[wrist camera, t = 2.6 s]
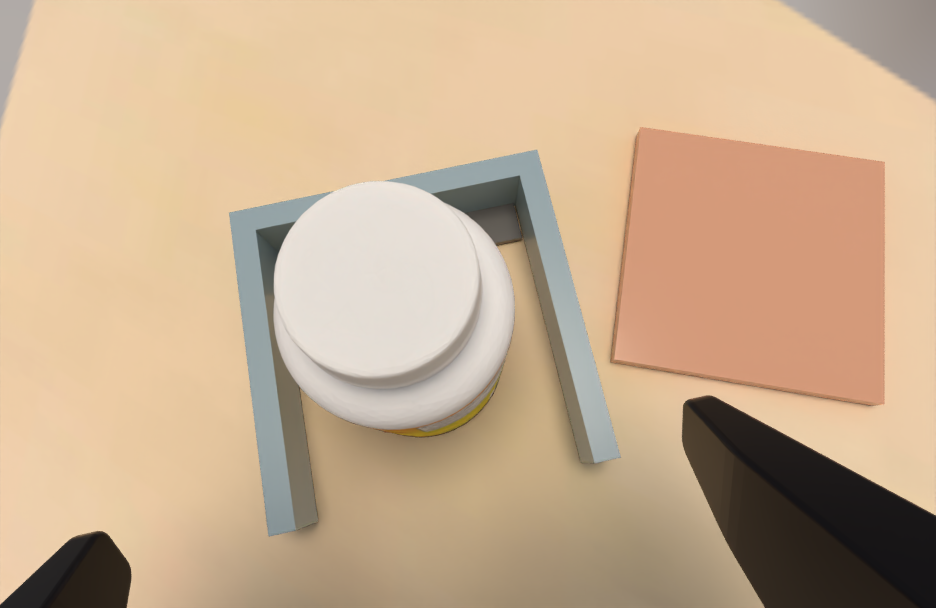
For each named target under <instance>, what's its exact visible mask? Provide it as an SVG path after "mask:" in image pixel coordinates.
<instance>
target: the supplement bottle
mask: <svg viewBox="0 0 936 608" xmlns="http://www.w3.org/2000/svg"><path fill="white" fill-rule="evenodd" d="M274 296H275V299H274V312H273V313H274V328H275V335H276V340H277V344H278V347H279V350H280V353H281V356H282V359H283V361H284V363H285V365H286V367H287V369H288V371H289V372H290V374H291V376H292V377H293V379H294V380H295V381H296V383H297V384H298V385H299V386H300V388H301V389H302V390H303V391H304V392H305V393H306V394H307V395H308V396H309V397H310V398H311V399H312V400H313V401H314V402H316V403H317V404H318V405H320V406H321V407H322V408H324V409H325V410H327V411H328V412H330V413H332V414H334V415H335V416H337V417H339V418H342V419H344V420H346V421H349V422H351V423H354V424H357V425H361V426H364V427H368V428H373V429H377V430H381V431H384V432H391V433H395V434H399V435H404V436H411V437H429V436H436V435H440V434H444V433H447V432H450V431H452V430H455V429H457V428H458V427H460V426H462V425H464V424H466V423H467V422H468V421H470V420H471V419H472V418H474V417H475V416H476V415H477V414H478V413H479V412H480V411H481V410H482V409H483V408H484V406H485V405H486V404H487V402H488V401H489V399H490V398H491V396H492V395H493V394H494V391H495V389H496V387H497V384H498V381H499V378H500V375H501V372H502V368H503V365H504V362H505V359H506V355H507V352H508V350H509V347H510V342H511V338H512V333H513V327H514V319H515V300H514V291H513V285H512V280H511V277H510V274H509V271H508V268H507V265H506V263H505V261H504V258H503V256H502V255H501V253H500V251H499V249H498V247H497V246H496V245H495V243H494V242H493V240H492V239H491V238H490V236H489V235H488V234H487V233H486V232H485V231H484V230H483V229H482V228H481V227H480V226H479V225H478V224H477V223H476V222H475V221H474V220H472V219H471V218H470V217H469V216H468V215H466V214H465V213H463V212H462V211H460V210H458V209H456V208H454V207H452V206H450V205H448V204H446V203H444V202H442V201H441V200H440V199H438V198H437V197H435V196H433V195H432V194H430V193H428V192H426V191H424V190H422V189H419V188H417V187H414V186H411V185H407V184H403V183H397V182H390V181H370V182H363V183H358V184H354V185H350V186H347V187H344V188H342V189H339V190H336V191H334V192H332V193H330V194H328V195H327V196H325V197H323V198H322V199H320V200H319V201H317V202H316V203H315V204H314V205H312V206H311V207H310V208H309V209H308V210H306V211H305V212H304V213H303V214H302V215H301V216H300V218H299V219H298V220H297V221H296V222H295V224H294V225H293V227H292V228H291V229H290V231H289V232H288V234H287V236H286V238H285V239H284V242H283V244H282V246H281V249H280V251H279V254H278V257H277V261H276V264H275V271H274Z"/></svg>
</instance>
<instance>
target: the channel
mask: <svg viewBox="0 0 936 608" xmlns="http://www.w3.org/2000/svg"><path fill="white" fill-rule="evenodd" d="M387 181H390V182H397V183H403V184H407V185H411V186H414V187H417V188H419V189H422V190H424V191H426V192H428V193H430V194H432V195H433V196H435V197H437V198H438V199H440V200H441V201H442V202H444V203H446V204H448V205H450V206H452V207H454V208H456V209H458V210H460V211H462V212H463V213H465V214H466V215H468V216H469V217H470V218H471V219H472V220H474V221H475V222H476V223H477V224H478V225H479V226H480V227H481V228H482V229H483V230H484V231H485V232H486V233H487V234H488V235H489V236H490V238H491V239H492V240H493V242H494V243H495V245H501V244H506V243H511V242H515V241H520V240H522V235H521V231H520V227H519V224H518V220H517V216H516V212H515V208H514V206H516V210H517V214H518V218H519V222H520V226H521V230H522V234H523V237H524V241H525V245H526V249H527V253H528V257H529V261H530V265H531V269H532V273H533V277H534V281H535V285H536V289H537V292H538V296H539V300H540V304H541V308H542V312H543V316H544V320H545V324H546V328H547V332H548V336H549V340H550V344H551V347H552V351H553V355H554V359H555V363H556V367H557V371H558V375H559V379H560V383H561V387H562V391H563V395H564V399H565V402H566V406H567V410H568V414H569V418H570V422H571V426H572V430H573V434H574V438H575V442H576V446H577V450H578V454H579V457H580V461H581V463H599V462H603V461H607V460H612V459H616V458H621V456H620V453H619V449H618V445H617V442H616V438H615V434H614V431H613V427H612V423H611V420H610V416H609V412H608V409H607V405H606V401H605V398H604V394H603V390H602V386H601V383H600V379H599V375H598V372H597V368H596V364H595V361H594V357H593V353H592V350H591V346H590V342H589V339H588V335H587V331H586V328H585V324H584V320H583V317H582V313H581V309H580V305H579V302H578V298H577V294H576V291H575V287H574V283H573V280H572V276H571V272H570V269H569V265H568V261H567V258H566V254H565V250H564V247H563V243H562V239H561V236H560V232H559V228H558V224H557V221H556V217H555V213H554V210H553V206H552V202H551V199H550V195H549V191H548V188H547V184H546V180H545V177H544V173H543V169H542V166H541V162H540V158H539V155H538V151H537V150H533V151H528V152H523V153H518V154H514V155H509V156H504V157H499V158H494V159H489V160H484V161H479V162H475V163H470V164H465V165H460V166H455V167H450V168H445V169H440V170H435V171H431V172H426V173H421V174H416V175H411V176H406V177H401V178H396V179H391V180H387ZM333 192H334V191H333ZM330 193H332V192H328V193H323V194H318V195H313V196H308V197H304V198H299V199H294V200H289V201H284V202H279V203H274V204H269V205H264V206H260V207H255V208H250V209H245V210H240V211H235V212H230V213H229V216H230V224H231V232H232V240H233V249H234V257H235V265H236V273H237V281H238V290H239V298H240V306H241V314H242V322H243V331H244V339H245V347H246V355H247V363H248V371H249V380H250V388H251V396H252V404H253V412H254V421H255V429H256V437H257V445H258V453H259V462H260V470H261V478H262V486H263V494H264V503H265V511H266V519H267V527H268V535H269V536H273V535H278V534H282V533H287V532H291V531H296V530H298V529H301V528H303V527H306V526H308V525H311V524H313V523H316V522H318V516H317V509H316V502H315V495H314V488H313V481H312V474H311V467H310V460H309V453H308V446H307V439H306V432H305V425H304V418H303V411H302V404H301V397H300V390H299V385H298V384H297V383H296V381H295V380H294V379H293V377H292V376H291V374H290V372H289V371H288V369H287V367H286V365H285V363H284V361H283V359H282V356H281V353H280V350H279V347H278V344H277V340H276V335H275V328H274V313H273V312H274V299H275V296H274V271H275V264H276V261H277V257H278V254H279V251H280V249H281V246H282V244H283V242H284V239H285V238H286V236H287V234H288V232H289V231H290V229H291V228H292V227H293V225H294V224H295V222H296V221H297V220H298V219H299V218H300V216H301V215H302V214H303V213H304V212H305V211H306V210H308V209H309V208H310V207H311V206H312V205H314V204H315V203H316V202H317V201H319V200H320V199H322V198H323V197H325V196H327V195H328V194H330Z"/></svg>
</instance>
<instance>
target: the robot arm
mask: <svg viewBox="0 0 936 608" xmlns="http://www.w3.org/2000/svg"><path fill="white" fill-rule="evenodd" d="M682 442H683V447H684V450H685V453H686V456H687V458H688V460H689V462H690V464H691V467H692V469H693V471H694V473H695V475H696V478H697V480H698V482H699V484H700V486H701V488H702V491H703V493H704V495H705V497H706V499H707V502H708V504H709V506H710V508H711V510H712V512H713V515H714V517H715V519H716V521H717V523H718V526H719V528H720V530H721V532H722V534H723V536H724V538H725V540H726V542H727V544H728V546H729V547H730V549H731V551H732V553H733V555H734V556H735V558H736V560H737V561H738V563H739V565H740V566H741V568H742V570H743V571H744V573H745V575H746V576H747V578H748V580H749V581H750V583H751V585H752V587H753V588H754V590H755V592H756V593H757V595H758V597H759V598H760V600H761V602H762V603H763V605H764V607H765V608H936V515H934V514H932V513H930V512H928V511H926V510H925V509H923V508H921V507H919V506H917V505H915V504H913V503H912V502H910V501H908V500H906V499H904V498H902V497H900V496H898V495H897V494H895V493H893V492H891V491H889V490H887V489H885V488H884V487H882V486H880V485H878V484H876V483H874V482H872V481H871V480H869V479H867V478H865V477H863V476H861V475H859V474H857V473H856V472H854V471H852V470H850V469H848V468H846V467H844V466H843V465H841V464H839V463H837V462H835V461H833V460H831V459H830V458H828V457H826V456H824V455H822V454H820V453H818V452H817V451H815V450H813V449H811V448H809V447H807V446H805V445H803V444H802V443H800V442H798V441H796V440H794V439H792V438H790V437H789V436H787V435H785V434H783V433H781V432H779V431H777V430H776V429H774V428H772V427H770V426H768V425H766V424H764V423H762V422H761V421H759V420H757V419H755V418H753V417H751V416H749V415H748V414H746V413H744V412H742V411H740V410H738V409H736V408H735V407H733V406H731V405H729V404H727V403H725V402H723V401H721V400H720V399H718V398H716V397H713V396H702V397H698V398H693V399H689V400H687V401H686V402H685V403H684V405H683V423H682ZM130 585H131V568H130V565H129V563H128V561H127V560H126V558H125V557H124V556H123V554H122V553H121V551H120V550H119V549H118V547H117V546H116V545H115V543H114V542H113V540H112V539H111V538H110V536H109V535H108V534H107V533H105V532H103V531H96V532H91V533H87V534H82V535H78V536H75V537H73V538H71V539H70V540H69V541H68V542H66V543H65V544H64V545H63V546H62V547H61V548H60V549H59V550H58V551H57V552H56V553H55V554H54V555H53V556H52V557H50V558H49V559H48V560H47V561H46V562H45V563H44V564H43V565H42V566H41V567H40V568H39V569H38V570H37V571H36V572H35V573H33V574H32V575H31V576H30V577H29V578H28V579H27V580H26V581H25V582H24V583H23V584H22V585H21V586H20V587H19V588H18V589H16V590H15V591H14V592H13V593H12V594H11V595H10V596H9V597H8V598H7V599H6V600H5V601H4V602H3V603H2V604H1V605H0V608H127V602H128V596H129V590H130Z"/></svg>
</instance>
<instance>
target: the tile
mask: <svg viewBox="0 0 936 608" xmlns="http://www.w3.org/2000/svg"><path fill="white" fill-rule="evenodd" d="M884 251H885V162H881V161H874V160H867V159H860V158H853V157H846V156H839V155H832V154H825V153H818V152H811V151H804V150H797V149H790V148H783V147H776V146H769V145H762V144H755V143H748V142H741V141H734V140H727V139H720V138H713V137H706V136H699V135H692V134H685V133H678V132H671V131H664V130H657V129H650V128H643V127H641V128H640V130H639V132H638V134H637V137H636V145H635V154H634V163H633V171H632V180H631V189H630V198H629V206H628V215H627V224H626V232H625V241H624V250H623V258H622V267H621V276H620V284H619V293H618V302H617V310H616V319H615V328H614V337H613V345H612V354H611V362H614V363H620V364H626V365H632V366H638V367H644V368H650V369H656V370H662V371H668V372H674V373H680V374H686V375H692V376H698V377H704V378H710V379H716V380H722V381H728V382H734V383H740V384H746V385H752V386H758V387H764V388H770V389H776V390H782V391H788V392H794V393H800V394H806V395H812V396H818V397H824V398H830V399H836V400H842V401H848V402H854V403H860V404H866V405H872V406H875V405H882V404H884Z"/></svg>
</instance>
